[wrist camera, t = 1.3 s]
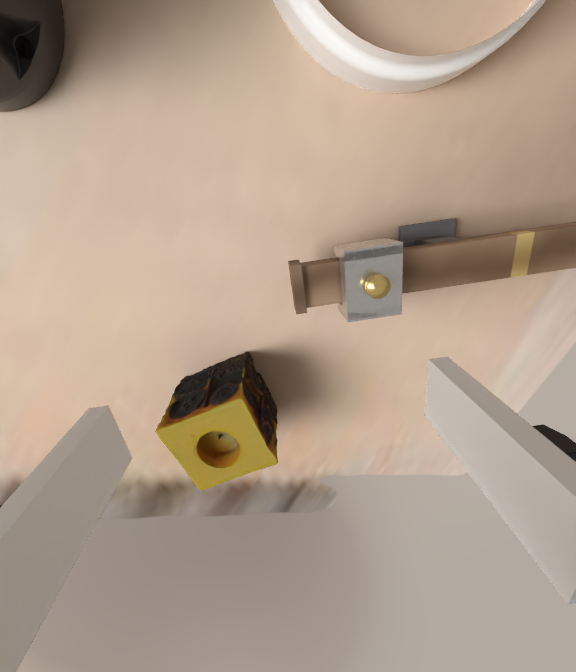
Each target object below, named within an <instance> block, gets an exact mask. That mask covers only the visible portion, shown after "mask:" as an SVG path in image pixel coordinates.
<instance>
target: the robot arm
mask: <svg viewBox="0 0 576 672" xmlns="http://www.w3.org/2000/svg"><path fill="white" fill-rule="evenodd" d="M63 47H64V21H63V13H62V7H61V2H60V0H0V111H11V110H16V109H20V108H23V107H25V106H28V105H29V104H31V103H33V102H34V101H36V100H37V99H39V98H40V97H41V96H42V95H43V94H44V93H45V92H46V91H47V89H48V88H49V87H50V85H51V84H52V82H53V81H54V79H55V77H56V75H57V72H58V69H59V66H60V63H61V59H62V54H63ZM424 415H425V417H426V418H427V419H428V421H429V422H430V423H431V425H432V426H433V427H434V428H435V430H436V431H437V432H438V434H439V435H440V436H441V438H442V439H443V440H444V442H445V443H446V444H447V446H448V447H449V448H450V450H451V451H452V452H453V453H454V455H455V456H456V457H457V459H458V460H459V461H460V463H461V464H462V465H463V467H464V468H465V469H466V471H467V472H468V473H469V475H470V476H471V477H472V478H473V480H474V481H475V482H476V483H477V485H478V486H479V487H480V489H481V490H482V492H483V493H484V494H485V496H486V497H487V498H488V499H489V501H490V502H491V503H492V505H493V506H494V507H495V509H496V510H497V511H498V513H499V514H500V515H501V517H502V518H503V519H504V521H505V522H506V523H507V525H508V526H509V527H510V529H511V530H512V531H513V532H514V534H515V535H516V536H517V538H518V539H519V540H520V542H521V543H522V544H523V545H524V547H525V548H526V549H527V551H528V552H529V553H530V555H531V556H532V557H533V559H534V560H535V561H536V563H537V564H538V565H539V567H540V568H541V569H542V571H543V572H544V573H545V575H546V576H547V577H548V579H549V580H550V581H551V582H552V584H553V585H554V586H555V588H556V589H557V590H558V591H559V593H560V594H561V595H562V597H563V598H564V600H565V601H566V602H567V603H568V604H572V603H576V443H575V442H573V441H572V440H571V439H569V438H568V437H567V436H565V435H563V434H561V433H559V432H557V431H555V430H553V429H551V428H549V427H547V426H545V425H538V426H531V425H530V424H529V423H528V422H526V421H525V420H524V419H523V418H522V417H520V416H519V415H518V414H517V413H515V412H514V411H513V410H512V409H511V408H509V407H508V406H507V405H506V404H505V403H503V402H502V401H501V400H500V399H498V398H497V397H496V396H495V395H494V394H492V393H491V392H490V391H489V390H488V389H486V388H485V387H484V386H483V385H481V384H480V383H479V382H478V381H477V380H475V379H474V378H473V377H472V376H470V375H469V374H468V373H467V372H466V371H464V370H463V369H462V368H461V367H460V366H458V365H457V364H456V363H455V362H453V361H452V360H451V359H450V358H449V357H442V358H435V359H429V360H428V374H427V387H426V400H425V413H424ZM131 459H132V456H131V454H130V452H129V449H128V447H127V445H126V443H125V441H124V439H123V436H122V434H121V432H120V430H119V428H118V425H117V423H116V421H115V419H114V417H113V415H112V412H111V410H110V408H109V406H102V407H96V408H89V409H88V410H87V411H86V412H85V413H84V415H83V416H82V417H81V418H80V419H79V420H78V421H77V422H76V424H75V425H74V426H73V427H72V428H71V429H70V430H69V431H68V432H67V434H66V435H65V436H64V437H63V438H62V439H61V440H60V441H59V443H58V444H57V445H56V446H55V447H54V448H53V449H52V450H51V452H50V453H49V454H48V455H47V456H46V457H45V458H44V459H43V460H42V462H41V463H40V464H39V465H38V466H37V467H36V468H35V469H34V471H33V472H32V473H31V474H30V475H29V476H28V477H27V478H26V480H25V481H24V482H23V483H22V484H21V485H20V486H19V487H18V488H17V490H16V491H15V492H14V493H13V494H12V495H11V496H10V497H9V499H8V500H7V501H6V502H5V503H4V504H3V505H0V672H16V671H17V669H18V667H19V666H20V664H21V662H22V660H23V658H24V656H25V655H26V653H27V651H28V649H29V647H30V645H31V644H32V642H33V640H34V638H35V636H36V634H37V632H38V631H39V629H40V627H41V625H42V623H43V621H44V620H45V618H46V616H47V614H48V612H49V610H50V608H51V607H52V605H53V603H54V601H55V599H56V597H57V596H58V594H59V592H60V590H61V588H62V586H63V584H64V583H65V581H66V579H67V577H68V575H69V573H70V571H71V570H72V568H73V566H74V564H75V562H76V561H77V559H78V557H79V555H80V553H81V551H82V549H83V548H84V546H85V544H86V542H87V540H88V538H89V537H90V535H91V533H92V531H93V529H94V527H95V525H96V524H97V521H98V520H99V518H100V516H101V514H102V513H103V511H104V509H105V507H106V505H107V503H108V502H109V500H110V498H111V496H112V494H113V492H114V490H115V489H116V487H117V485H118V483H119V481H120V479H121V478H122V476H123V474H124V472H125V470H126V468H127V466H128V465H129V463H130V461H131Z"/></svg>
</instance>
